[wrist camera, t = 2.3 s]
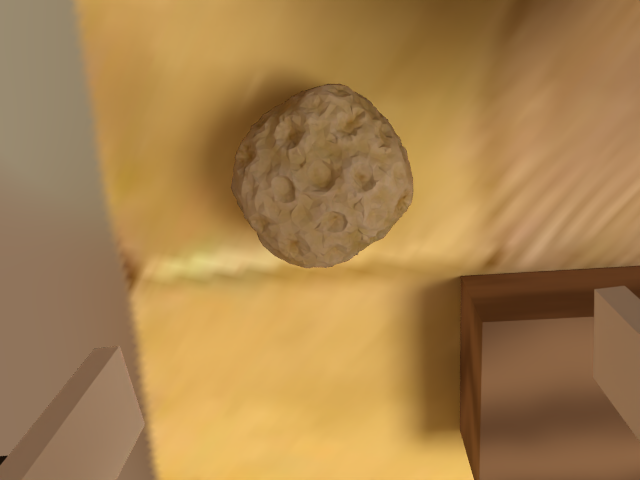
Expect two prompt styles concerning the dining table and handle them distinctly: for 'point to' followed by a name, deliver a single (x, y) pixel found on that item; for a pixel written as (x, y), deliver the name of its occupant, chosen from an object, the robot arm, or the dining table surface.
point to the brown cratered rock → (322, 177)
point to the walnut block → (539, 379)
